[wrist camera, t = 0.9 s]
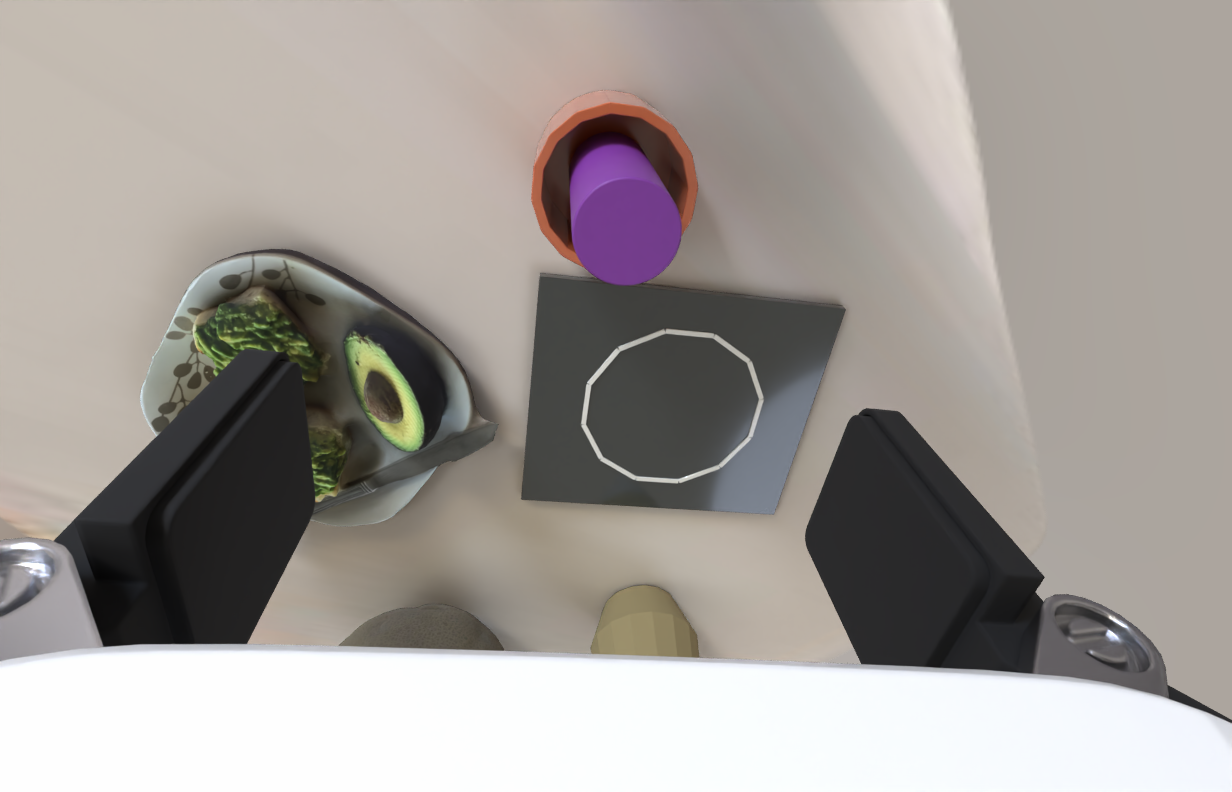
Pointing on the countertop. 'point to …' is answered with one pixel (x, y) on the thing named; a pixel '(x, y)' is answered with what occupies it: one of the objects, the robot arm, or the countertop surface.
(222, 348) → the salad plate
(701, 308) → the slate board
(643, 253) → the cylinder
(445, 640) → the cantaloupe
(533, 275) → the countertop surface
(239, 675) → the robot arm
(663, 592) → the squeeze bottle
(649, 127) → the pen pot
